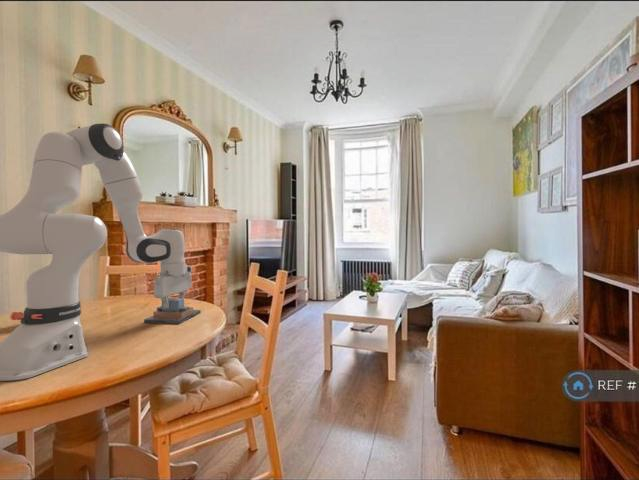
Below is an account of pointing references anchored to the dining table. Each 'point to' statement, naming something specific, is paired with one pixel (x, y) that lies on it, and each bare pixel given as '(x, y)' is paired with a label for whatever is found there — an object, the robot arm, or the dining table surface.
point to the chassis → (171, 316)
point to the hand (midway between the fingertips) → (173, 305)
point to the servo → (174, 305)
